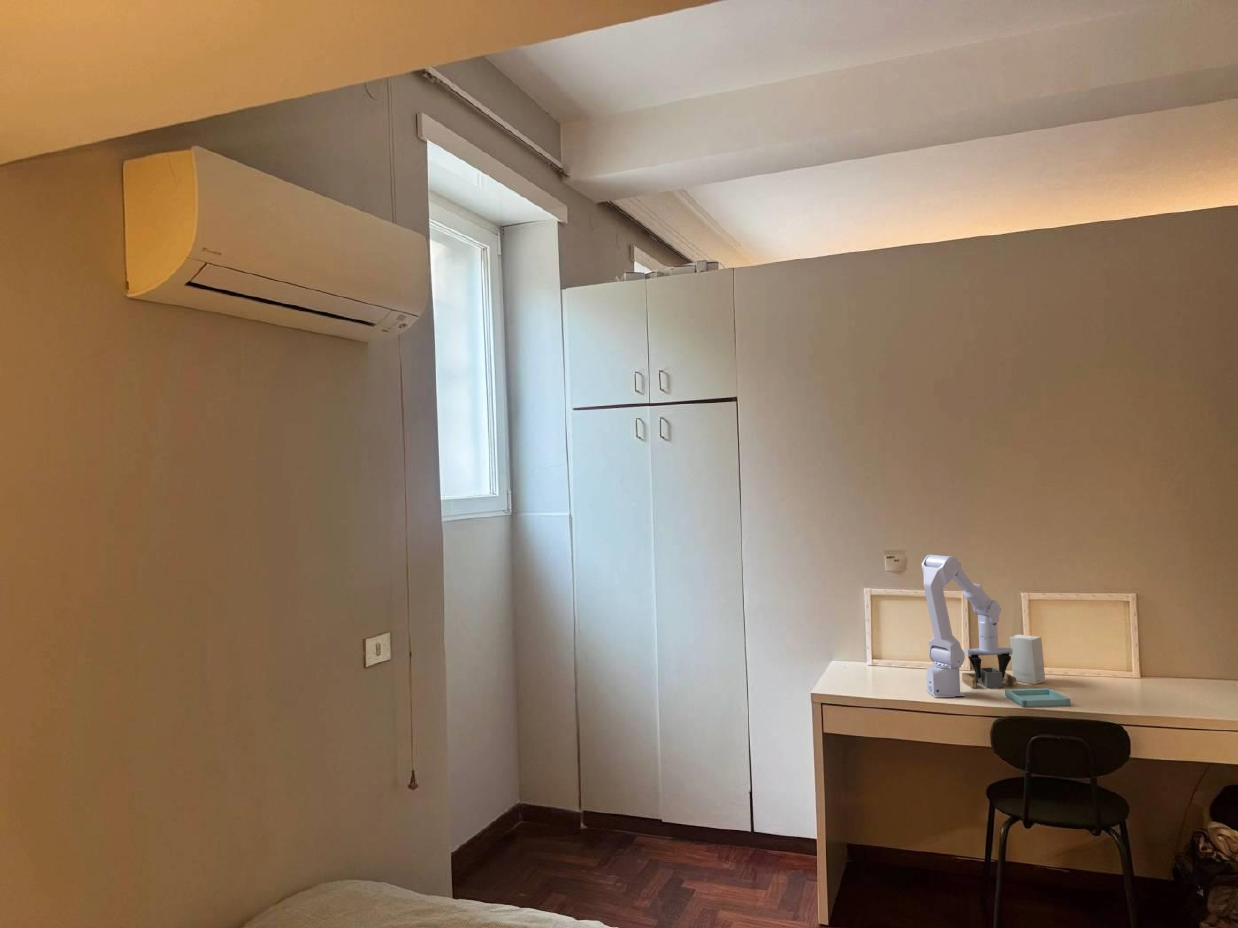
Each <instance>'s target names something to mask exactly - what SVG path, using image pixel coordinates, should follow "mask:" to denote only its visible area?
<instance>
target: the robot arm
mask: <svg viewBox="0 0 1238 928" xmlns="http://www.w3.org/2000/svg"><path fill="white" fill-rule="evenodd" d="M921 569H922V574H923V588H924V594H925V598H926V603H927V609H928V613H929V614H928V615H929V619H930V624H931V628H932V633H933V637H932V638H931V639H930V640H929V641H928V647H929V649H928V657H929V660H930V661H931V662H932V665H933V666H928V667H927V669H926V688H927V689H926V692H927V693H928V694H930V695H931V696H933V698H956V697H955V696H965V697H966V695H965V694H964V693H963V692H961V683H960V682H961V680H960V679H961V677H960V668H961V667H962V666H963V664H964V662H965V659H966V658H965V657H966V656H967V658H968V660H969V662H970V663H971V664H972V665H971V666H972V667H973V670H974V673H975V674H976V677H977V678H981V669H980V668H982V667H981V666H982V665H981V663H982V658H980V656H996V657H997V663H998V670H999V671H1000V672H1002V678H1004V676H1005V672H1007V668H1008V665H1009V663H1010V661H1012V659H1011V655H1013V649H1011V647H999V628H998V623H999V621H1000V615H1001V612H1002V607H1000V606H1001V605H1000V604H999V603H998V601H997V600H994V599H991V597H990V595H989V594H987V593H986V592H985V590H984V589H983V586H982V585H981V584H978V583H974V582H973V581H972V580H971V579H970V577H969V576H968V575H967V574H966V572H965V571H964V570H963V568H962V563H961V562H960V561H959V560H958V558H957V557H955V556H953V555H950V556H948V555H947V556H946V555H940V554H939V555H937V554H931V553H930V554H927V555H926V556H925V557H924V559H923V561H922V562H921ZM952 580H953V581H954V582H955V583H956V584H957V585H958V586H959V587H960V588H961V589H962V590H963V596H964V597H965V598H966V600H967V601H968V602H969V603H970V604H971V606H972V610H973V613H974V614H976V615H977V623H978V624H977V625H978V641H979V642H978V644H979V645H978V647H977V648H976V647H975V648H969V649H968V648H967V649H965V651H964V650H963V648H962V647H961V643H960V641H959V640H958V639H957V637H955V636H954V635H953V632H952V627H951V621H950V616H949V612H948V607H947V602H946V598H945V597H946V596H945V591H944V587H945V586H947V585H948V584H949V583H950V582H951V581H952Z"/></svg>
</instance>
